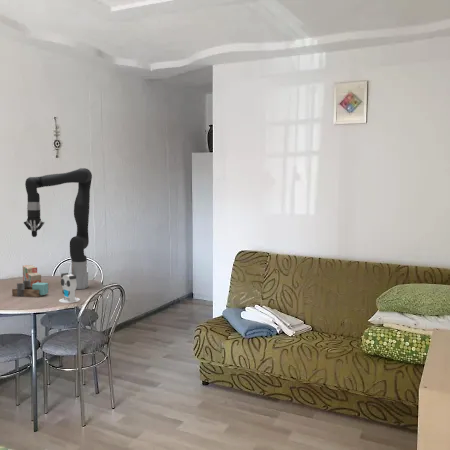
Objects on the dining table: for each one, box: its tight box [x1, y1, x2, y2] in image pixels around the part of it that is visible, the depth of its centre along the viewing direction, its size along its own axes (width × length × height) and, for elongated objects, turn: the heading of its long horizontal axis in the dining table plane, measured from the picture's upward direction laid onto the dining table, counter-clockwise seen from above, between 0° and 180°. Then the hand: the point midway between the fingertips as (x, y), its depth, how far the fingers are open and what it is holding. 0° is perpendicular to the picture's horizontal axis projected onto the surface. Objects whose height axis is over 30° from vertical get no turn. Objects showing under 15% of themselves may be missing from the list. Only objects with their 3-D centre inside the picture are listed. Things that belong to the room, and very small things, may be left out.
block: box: [32, 282, 49, 296], centre depth 282 cm, size 7×5×6 cm
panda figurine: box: [58, 272, 81, 304], centre depth 272 cm, size 12×11×15 cm
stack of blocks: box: [22, 264, 42, 287], centre depth 303 cm, size 21×6×12 cm, turn 35°
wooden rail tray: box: [11, 280, 43, 298], centre depth 282 cm, size 16×8×8 cm, turn 85°
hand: (34, 236), depth 300 cm, fingers closed
